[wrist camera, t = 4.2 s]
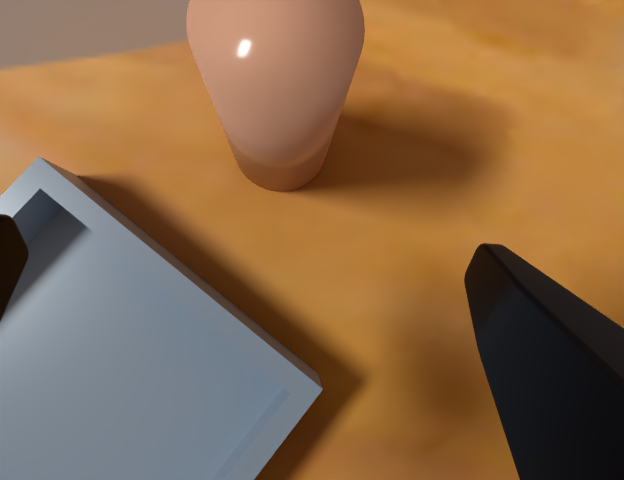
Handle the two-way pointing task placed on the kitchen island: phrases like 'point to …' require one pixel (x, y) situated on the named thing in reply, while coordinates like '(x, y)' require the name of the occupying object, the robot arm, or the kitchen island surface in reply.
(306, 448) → the kitchen island surface
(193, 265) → the kitchen island surface
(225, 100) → the tan rounded glossy part
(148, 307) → the tray
